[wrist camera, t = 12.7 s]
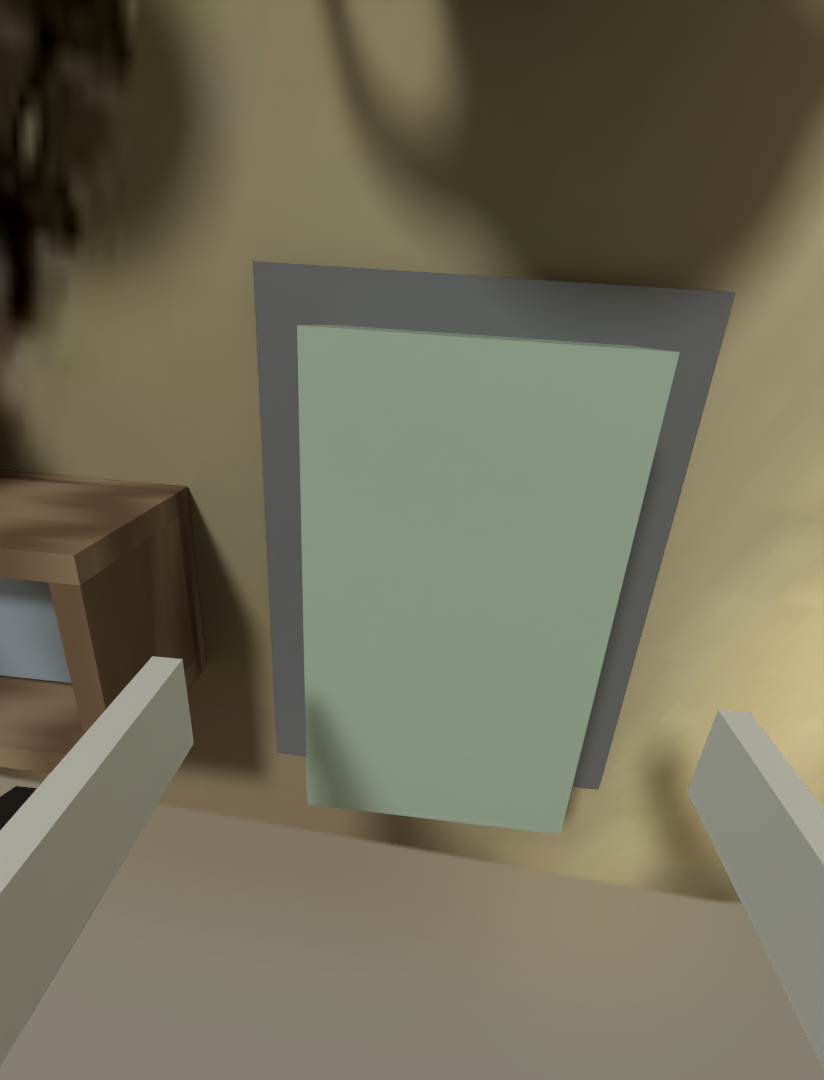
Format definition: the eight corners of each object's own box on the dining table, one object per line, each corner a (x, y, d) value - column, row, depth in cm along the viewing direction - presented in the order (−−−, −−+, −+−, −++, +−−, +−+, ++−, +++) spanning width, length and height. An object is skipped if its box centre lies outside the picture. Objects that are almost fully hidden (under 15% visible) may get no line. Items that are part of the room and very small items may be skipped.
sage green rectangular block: (331, 324, 18) (297, 325, 15) (631, 345, 18) (679, 351, 14) (330, 731, 26) (307, 804, 22) (544, 755, 25) (560, 834, 21)
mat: (280, 743, 27) (276, 752, 26) (259, 263, 18) (253, 261, 18) (595, 779, 26) (598, 789, 26) (727, 293, 18) (735, 292, 17)
